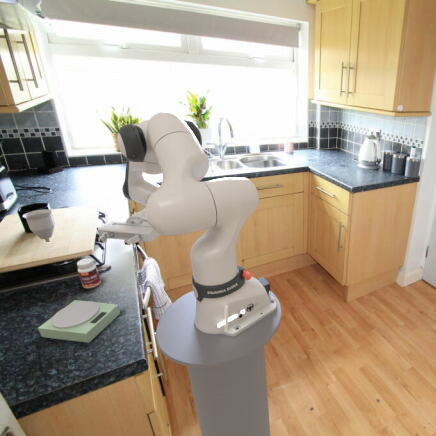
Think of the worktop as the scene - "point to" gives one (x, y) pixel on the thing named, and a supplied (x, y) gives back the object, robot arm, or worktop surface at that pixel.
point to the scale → (80, 321)
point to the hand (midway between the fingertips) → (113, 242)
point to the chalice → (40, 223)
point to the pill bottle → (88, 273)
